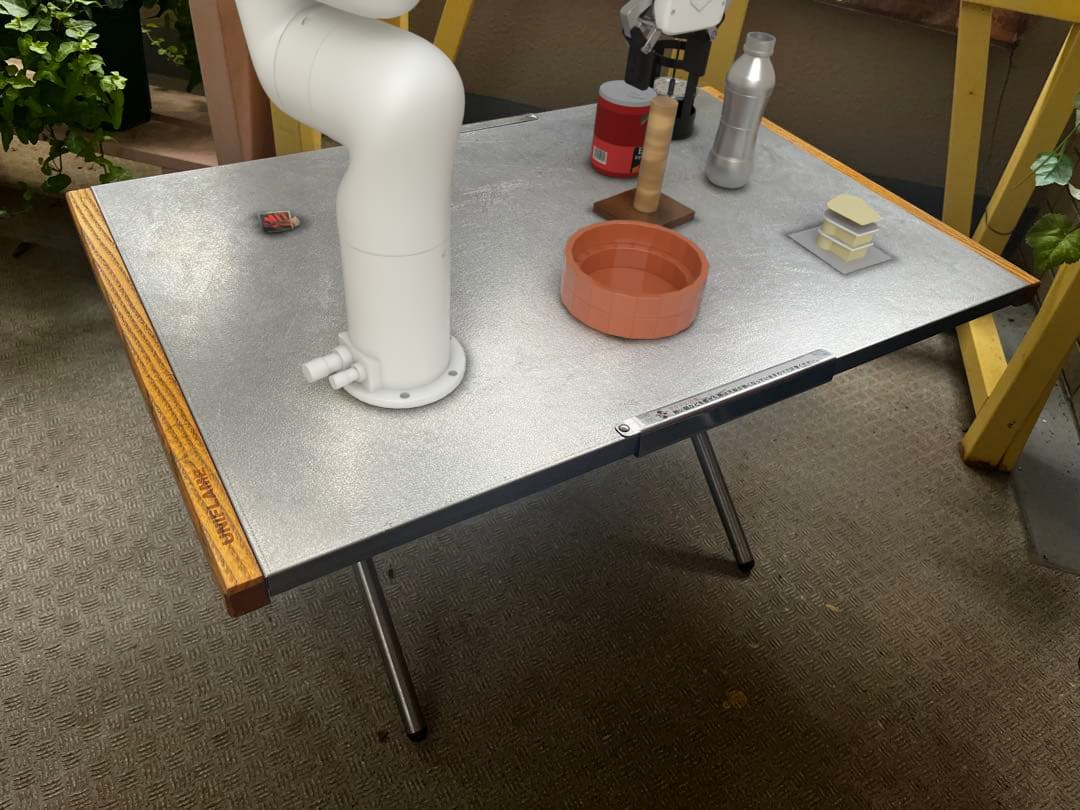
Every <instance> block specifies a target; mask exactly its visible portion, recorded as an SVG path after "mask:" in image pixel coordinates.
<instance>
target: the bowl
mask: <svg viewBox="0 0 1080 810" xmlns="http://www.w3.org/2000/svg"><path fill="white" fill-rule="evenodd" d="M562 257H563V258H562V265H561V274H560V282H559V292H560V299H561V302H562V304H563V305H564V306H565V308H566V309H567V311H568V312H569V313H570V314H571V315H572V316H573V317H575V318H576V319H577V320H579V321H580V322H581V323H583V324H585V325H586V326H587V327H590V328H592V329H594V330H596V331H599V332H600V333H601V332H602V333H604V334H606V335H610V336H614V337H618V338H625V339H632V340H633V339H634V340H653V339H654V340H655V339H661V338H665V337H670V336H674V335H676V334H678V333H680V332H682V331H684V330H685V329H688V328H689V327H690V325H692V323H694V321H695V320H696V318H697V317H698V316H699V313H700V308H701V305H702V301H703V297H704V293H705V289H706V286H707V282H708V281H707V280H708V277H709V271H710V263H709V261H708V258H707V256H706V253H705V251H703V249H702V248H700V246H698V245H697V243H696V242H694V240H691V238H689V237H687V236H685V235H683V234H681V233H679V232H678V231H676V230H673V229H672V228H671V229H668V228H665V227H662V226H660V225H657V224H652V223H646V222H641V221H634V220H611V221H608V220H605V221H599V222H593V223H591V224H588V225H586V226H583V227H581V228H579V229H577V230H576V231H575V232H574V233H572V234H571V235H570V236H569V237H568V238H567V241H566V243H565V246H564V249H563V255H562Z"/></svg>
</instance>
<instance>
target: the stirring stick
mask: <svg viewBox="0 0 1080 810" xmlns="http://www.w3.org/2000/svg"><path fill="white" fill-rule="evenodd" d="M677 107H678V102H677V101H676V100H675V99H673V98H670V97H666V96H657V97H654V98H652V100H651V106H650V112H649V117H648V123H647V129H646V135H645V140H644V146H643V152H642V158H641V163H640V169H639V175H637V181H636V186H635V188H636V192H635V198H634V204H633V206H634V208H635V209H636V210H638V211H640V212H644V213H652V212H655V211H656V210H657V209H658V204H659V199H660V193H661V192H662V188H663V183H664V177H665V174H666V168H667V164H668V163H667V162H668V157H669V153H670V147H671V142H672V140H671V138H672V133H673V127H674V122H675V117H676V112H677Z"/></svg>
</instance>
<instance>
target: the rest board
mask: <svg viewBox="0 0 1080 810" xmlns="http://www.w3.org/2000/svg"><path fill="white" fill-rule="evenodd" d="M635 192H636V187H633V188H630V189H627V190H626V191H622V192H619V193H617V194H614V195H612V196H609V197H607V198H606V197H605V198H604V199H601V200H598V201H595V202H593V205H592V212H594V213H595V214H597V215H598V216H600V217H602V218H603V219H605V220H606V221H611V220H634V221H641V222H646V223H652V224H657V225H660V226H662V227H665V228H668V229H671V230H672V229H673V228H676V227H678V226H681V225H684V224H685V223H686V224H687V223H688V222H690V221H693V220H694V218H695V214H696V210H694V209H692V208H690V207H689V206H687V205H684V204H683V203H681V202H680V201H677V200H676V199H674V198H672V197H671V196H669V195H667V194H665V193H664V192H662V191H661V193H660V199H659V204H658V209H657V210H656V211H655V212H652V213H644V212H640V211H638V210H636V209H635V208H634V206H633V204H634V198H635Z"/></svg>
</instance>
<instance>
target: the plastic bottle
mask: <svg viewBox="0 0 1080 810" xmlns="http://www.w3.org/2000/svg"><path fill="white" fill-rule="evenodd" d="M776 39H777V38H776V36H774V35H772V34H770V33H766V32H761V31H749V32H748V33H747V34H746V37H745V42H744V44H743V47H742V50H743V54H741V55H740V56H739V57H738V58H737V59H736V60H735V61H734V62H733V63H732V64H731V65H730V66H729V68H728V70H727V72H726V74H725V80H724V88H723V101H722V108H721V116H720V119H719V125H718V127H717V131H716V134H715V137H714V140H713V144H712V146H711V148H710V150H709V152H708V155H707V158H706V160H705V174H706V177H707V179H708V180H709V182H711V183H712V184H714V185H716V186H719V187H721V188H725V189H739V188H742V187H743V186H745V185H746V184H747V183H748V182H749V180H750V177H751V176H752V173H753V170H754V163H755V151H756V144H757V139H758V133H759V130H760V126H761V123H762V120H763V116H764V113H765V110H766V109H767V106H768V103H769V101H770V100H771V99H770V98H771V96H772V93H773V91H774V89H775V86H776V73H775V69H774V66H773V63H772V61H771V58H770V57H772V56H773V55H774V51H775V50H774V49H775V44H776V41H777V40H776Z"/></svg>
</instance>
